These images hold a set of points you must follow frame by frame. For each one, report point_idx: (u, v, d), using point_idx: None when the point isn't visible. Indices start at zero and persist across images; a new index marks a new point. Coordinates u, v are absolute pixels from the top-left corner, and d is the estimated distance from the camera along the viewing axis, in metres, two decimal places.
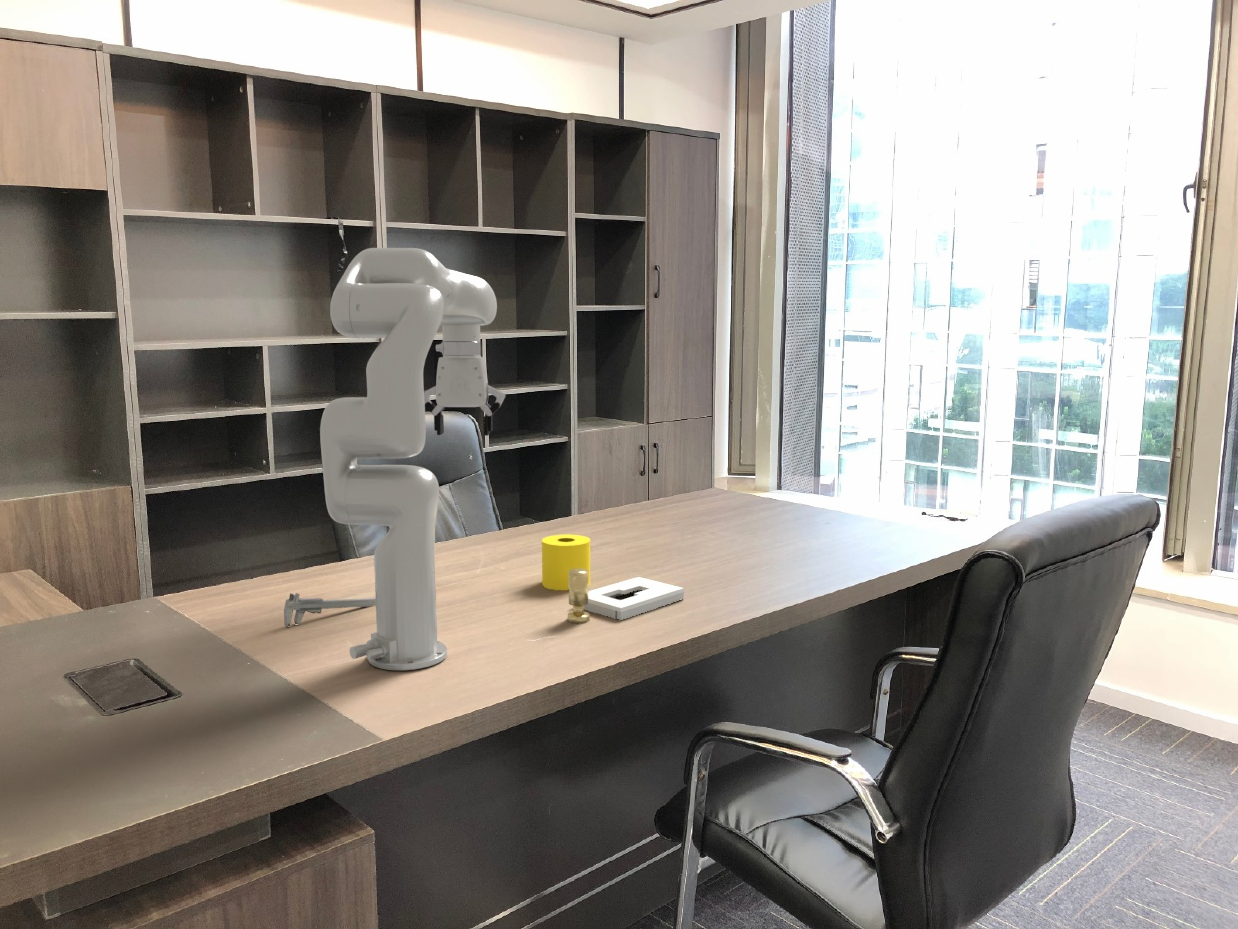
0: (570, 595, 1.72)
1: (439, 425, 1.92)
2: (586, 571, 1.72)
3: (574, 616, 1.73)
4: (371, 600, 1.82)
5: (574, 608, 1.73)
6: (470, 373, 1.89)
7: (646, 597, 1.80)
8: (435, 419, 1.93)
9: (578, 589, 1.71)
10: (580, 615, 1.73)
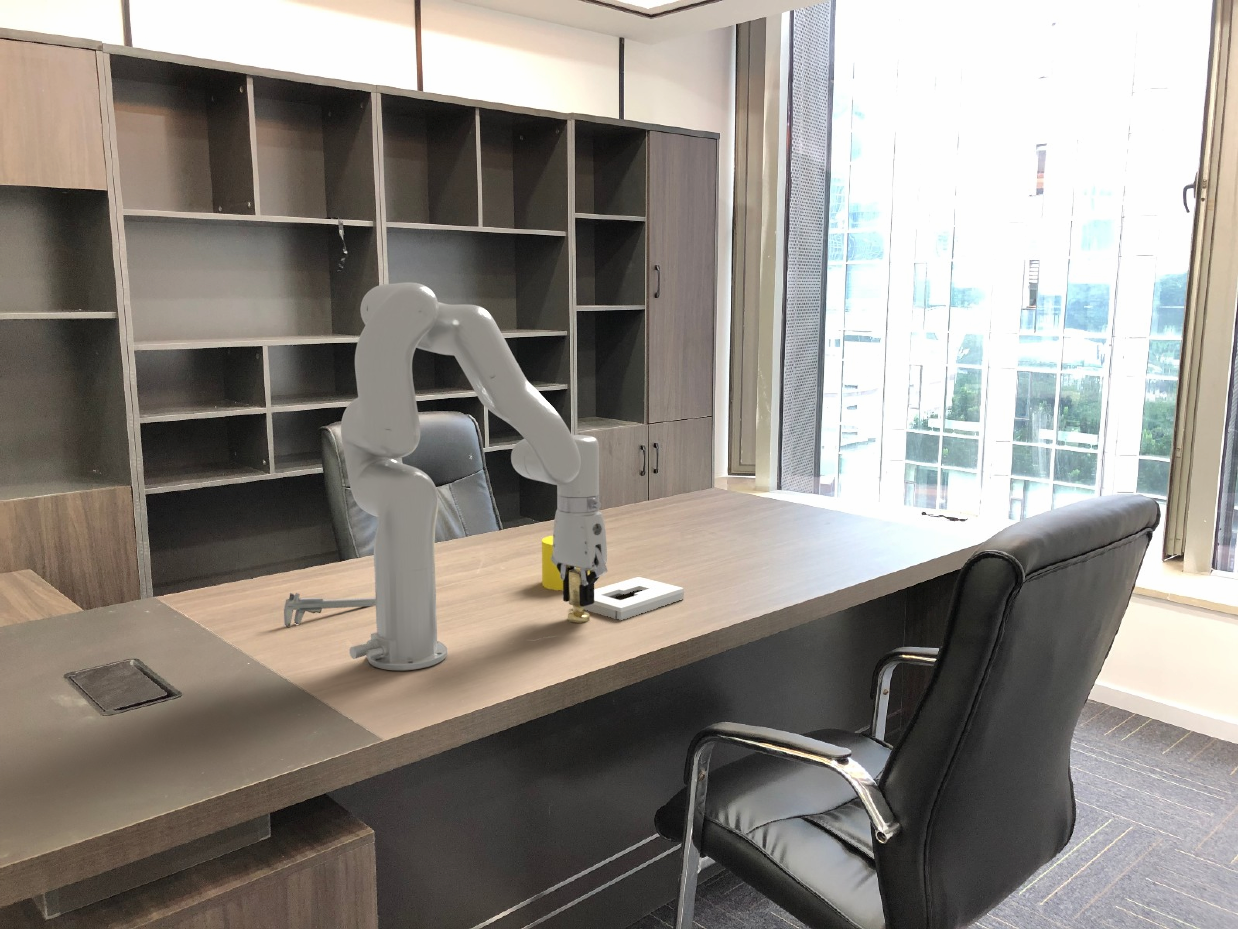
0: (570, 595, 1.72)
1: None
2: (587, 571, 1.72)
3: (574, 616, 1.73)
4: (371, 600, 1.82)
5: (574, 608, 1.73)
6: None
7: (646, 597, 1.80)
8: None
9: (578, 589, 1.71)
10: (580, 615, 1.73)
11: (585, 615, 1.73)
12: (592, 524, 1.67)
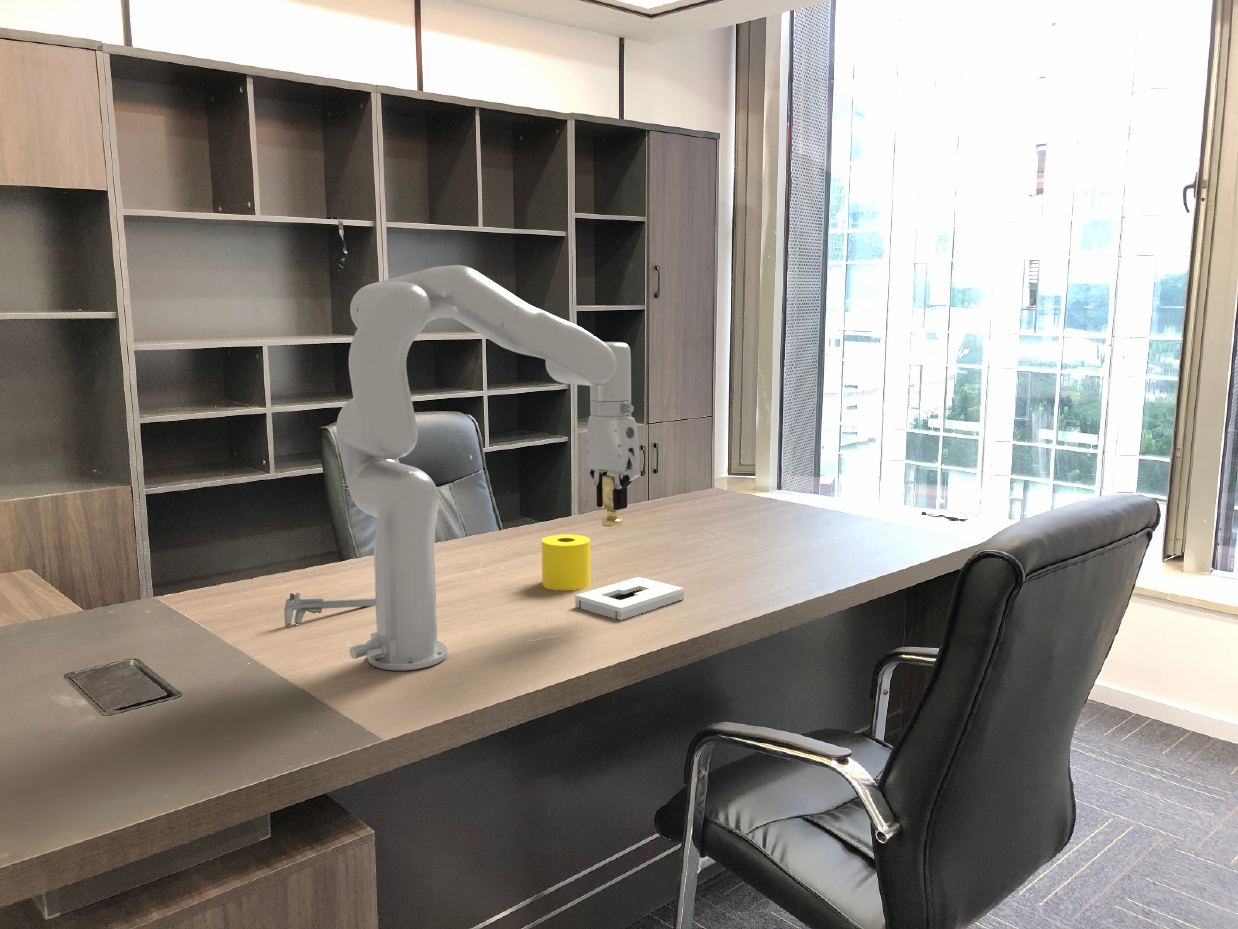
0: (604, 499, 1.76)
1: None
2: None
3: (608, 520, 1.77)
4: (372, 600, 1.82)
5: (608, 512, 1.77)
6: None
7: (646, 597, 1.80)
8: None
9: (612, 493, 1.75)
10: (614, 519, 1.77)
11: (618, 519, 1.77)
12: (625, 427, 1.71)
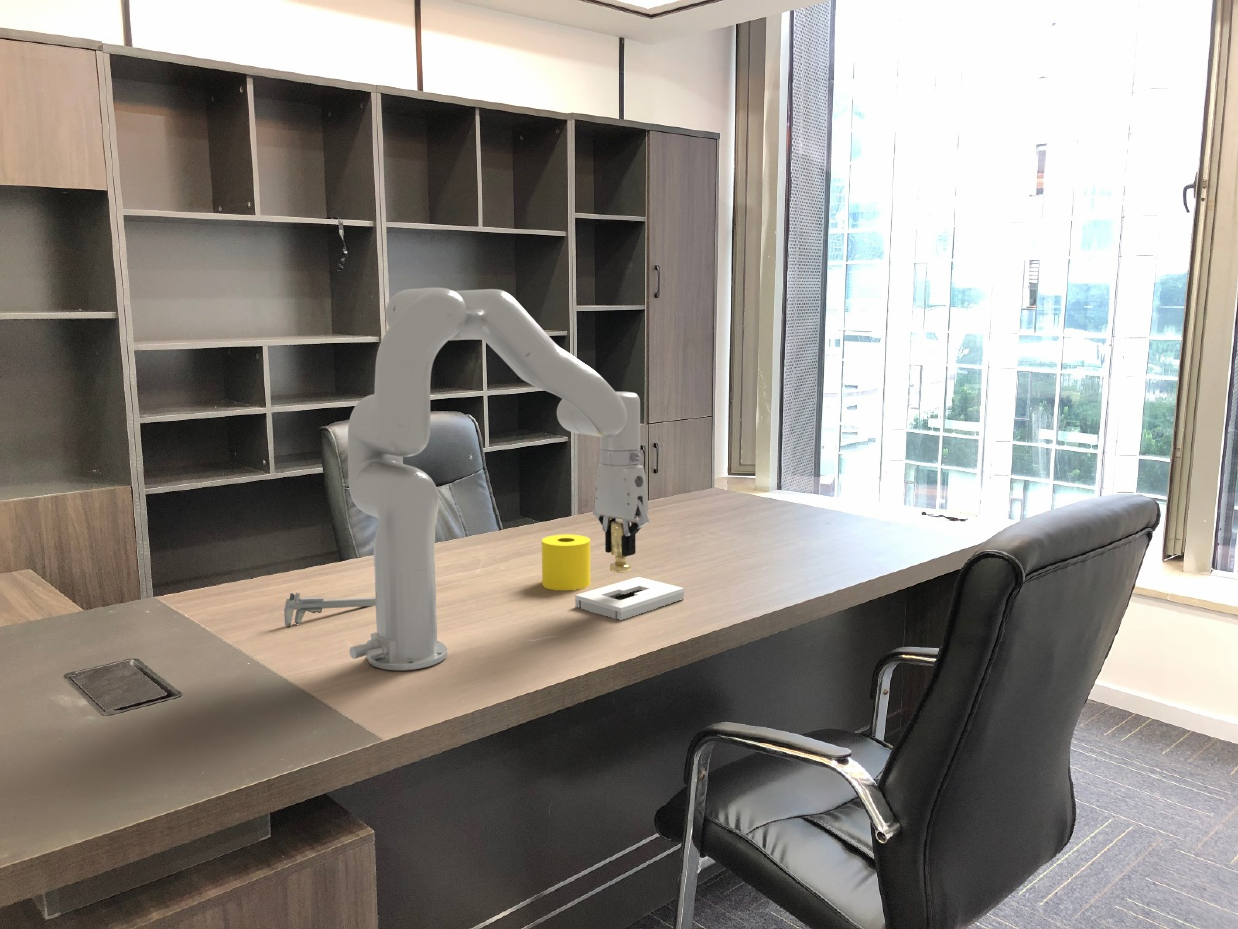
0: (612, 546, 1.79)
1: None
2: None
3: (616, 566, 1.80)
4: (372, 600, 1.82)
5: (616, 558, 1.80)
6: None
7: (646, 597, 1.80)
8: None
9: (621, 540, 1.78)
10: (622, 565, 1.80)
11: (627, 565, 1.80)
12: (634, 476, 1.74)
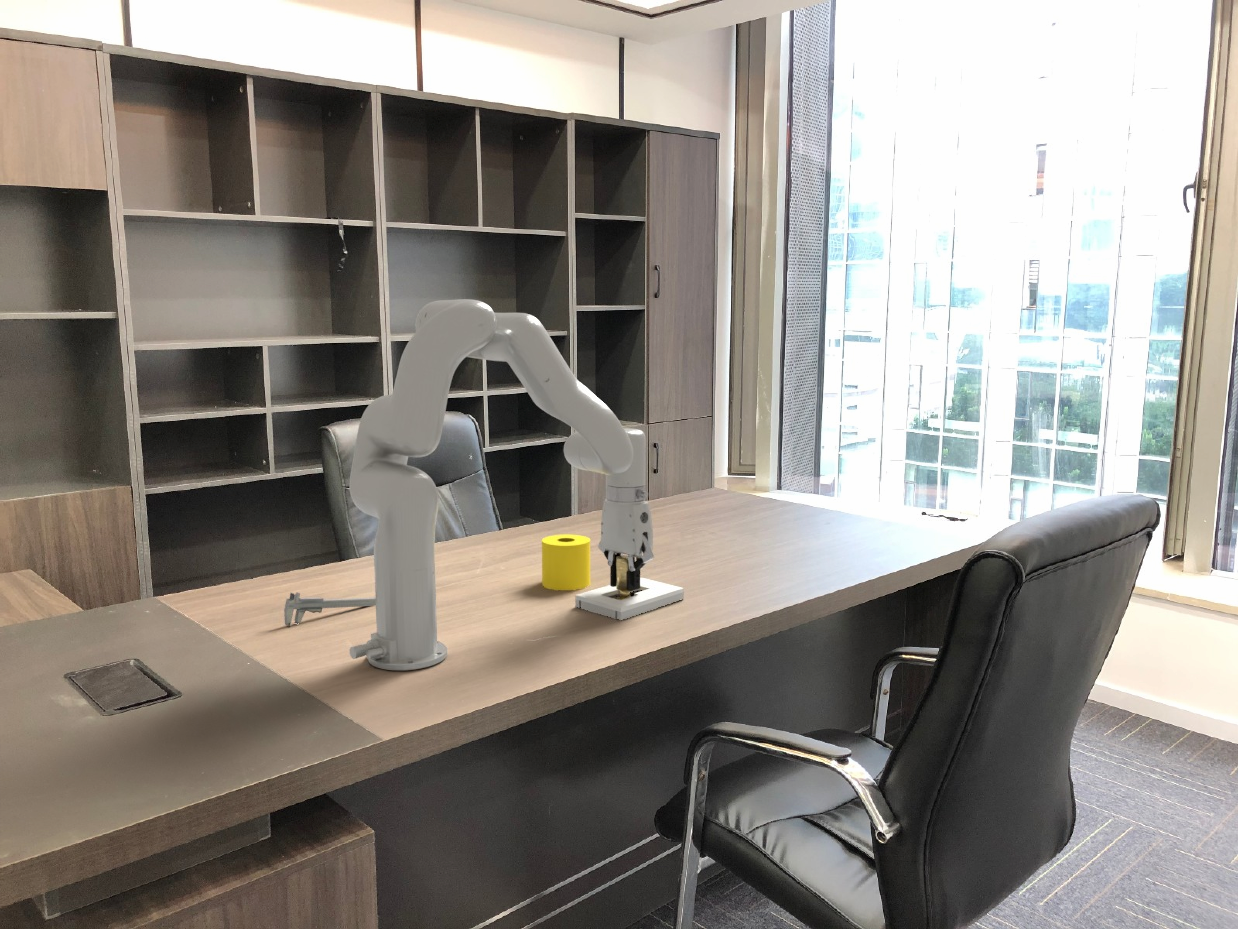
0: (617, 580, 1.81)
1: None
2: None
3: None
4: (372, 600, 1.82)
5: (621, 593, 1.82)
6: None
7: (646, 597, 1.80)
8: None
9: (626, 574, 1.80)
10: None
11: None
12: (640, 513, 1.76)
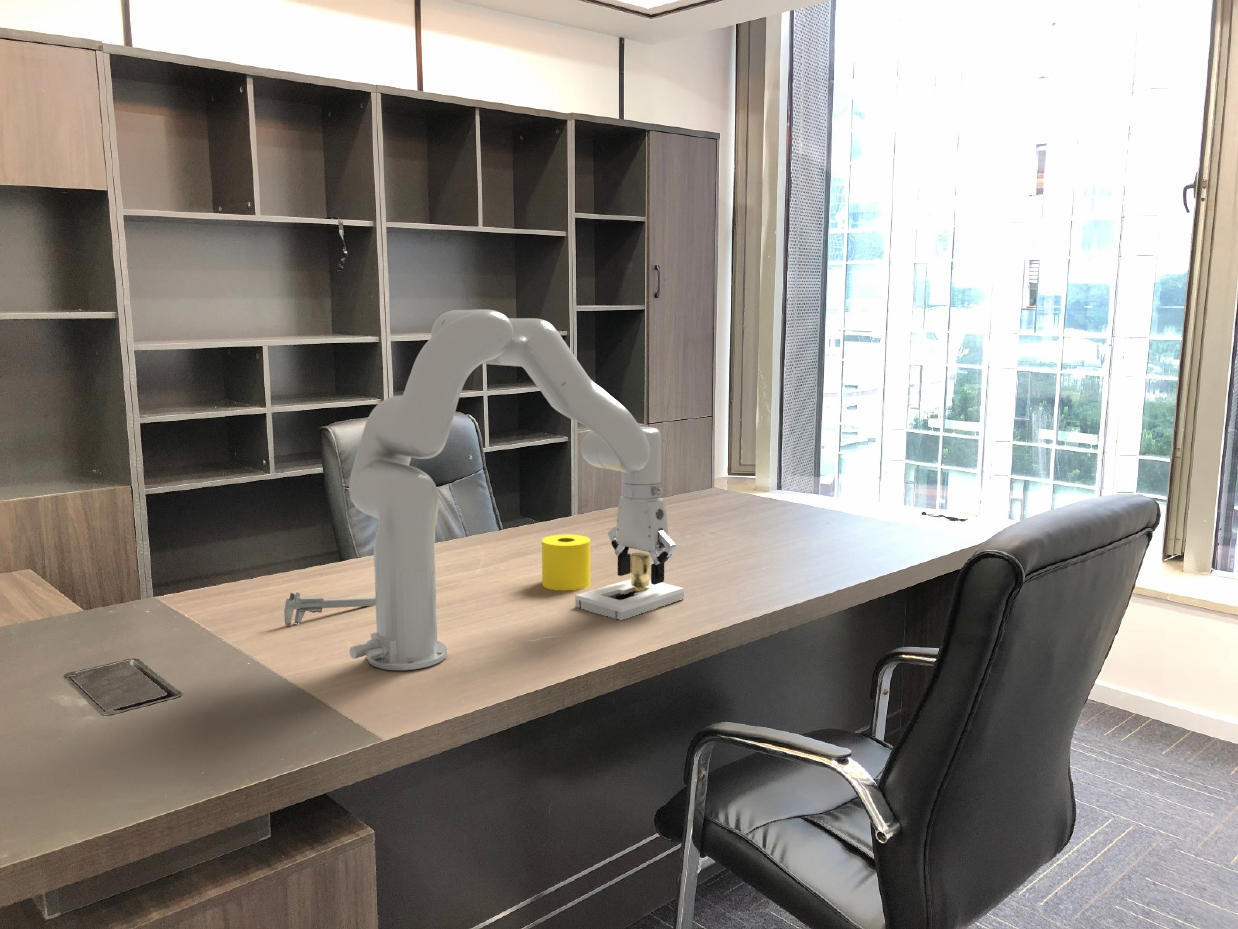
0: (633, 577, 1.84)
1: None
2: (648, 555, 1.84)
3: None
4: (372, 600, 1.82)
5: (636, 589, 1.85)
6: None
7: (646, 597, 1.80)
8: None
9: (641, 571, 1.83)
10: None
11: None
12: (655, 509, 1.80)
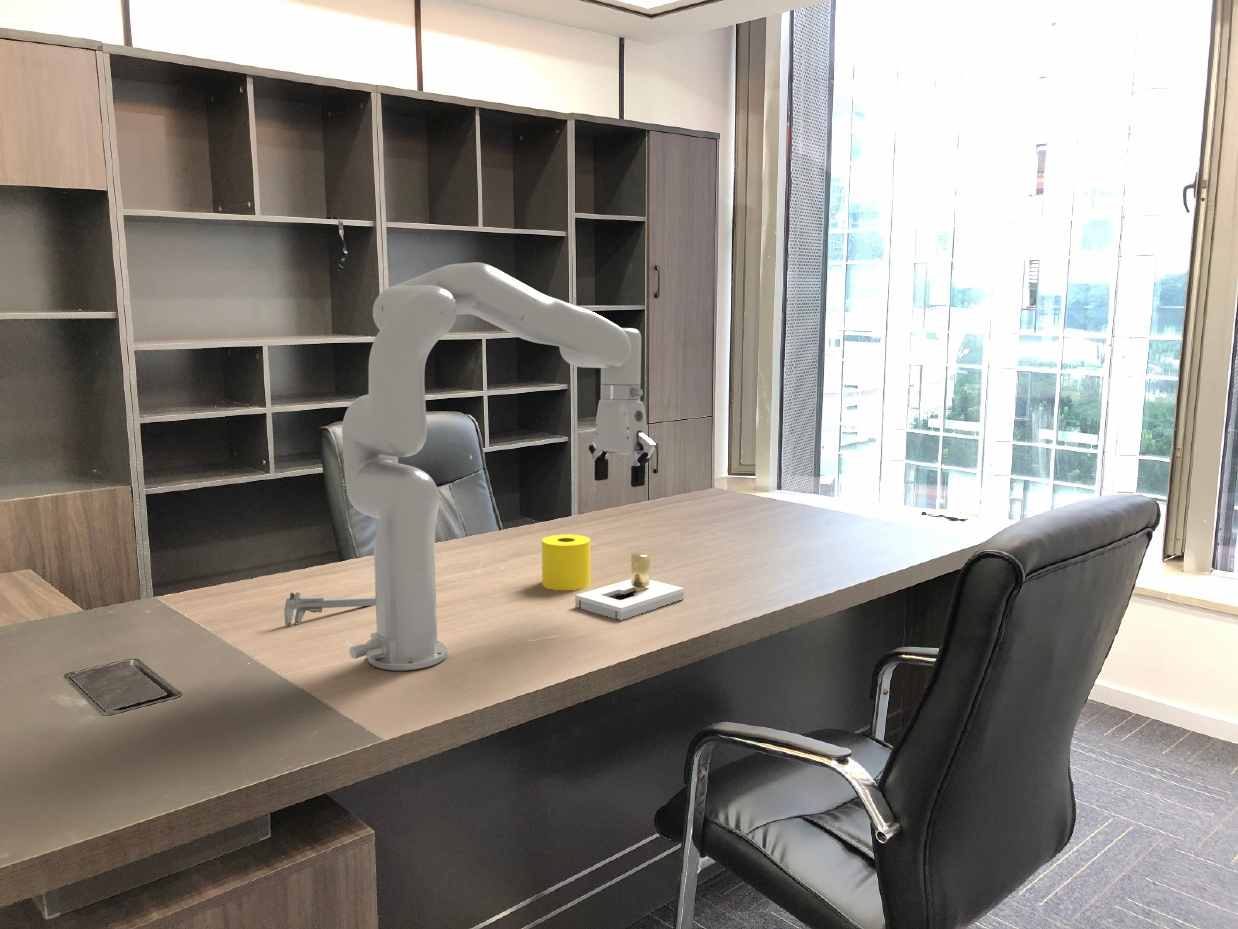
0: (633, 577, 1.84)
1: None
2: (648, 555, 1.84)
3: None
4: (372, 599, 1.82)
5: (636, 589, 1.85)
6: None
7: (646, 597, 1.80)
8: None
9: (641, 571, 1.83)
10: None
11: None
12: (634, 411, 1.76)
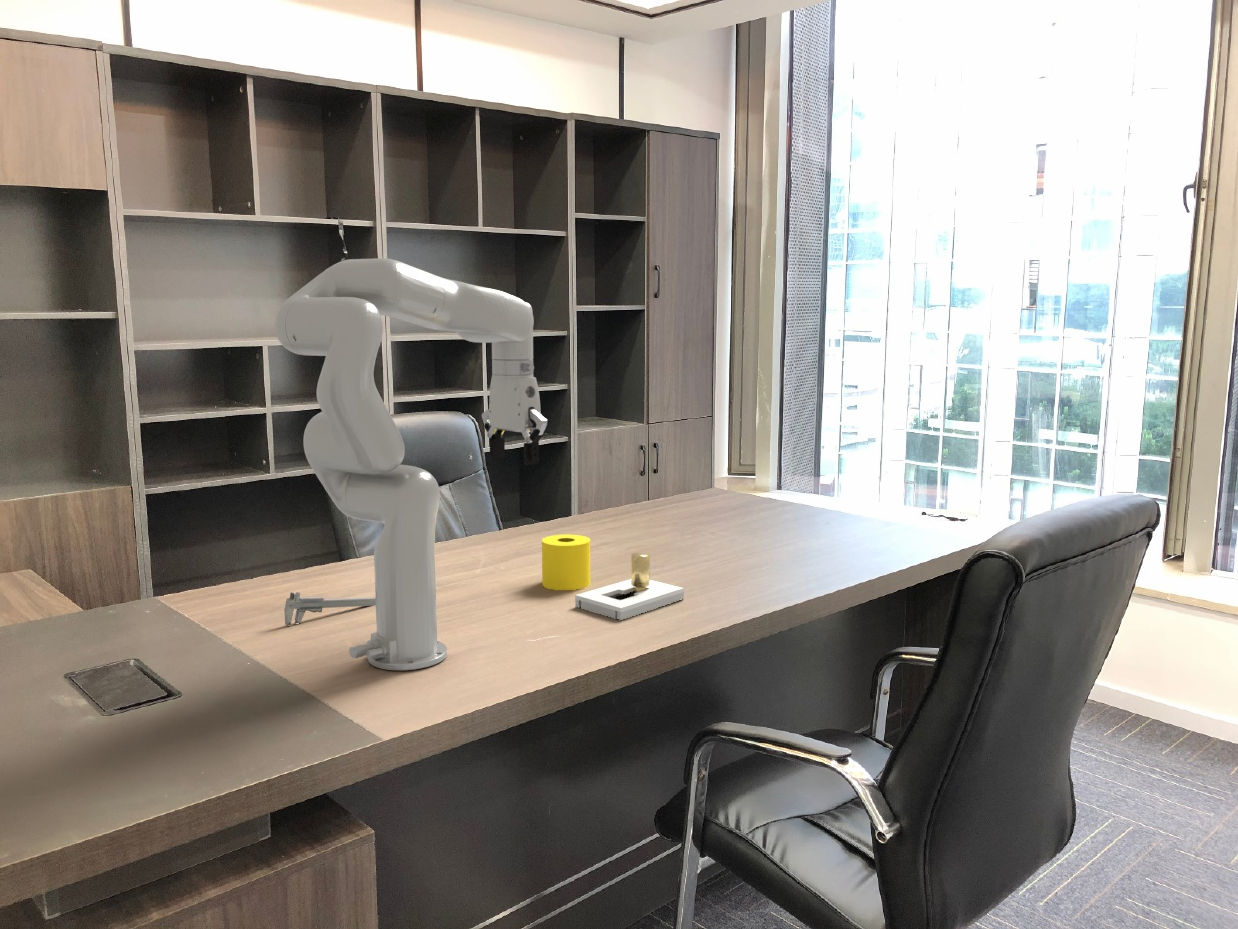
0: (633, 577, 1.84)
1: None
2: (648, 555, 1.84)
3: None
4: (372, 599, 1.82)
5: (636, 589, 1.85)
6: None
7: (646, 597, 1.80)
8: None
9: (641, 571, 1.83)
10: None
11: None
12: (525, 386, 1.71)
